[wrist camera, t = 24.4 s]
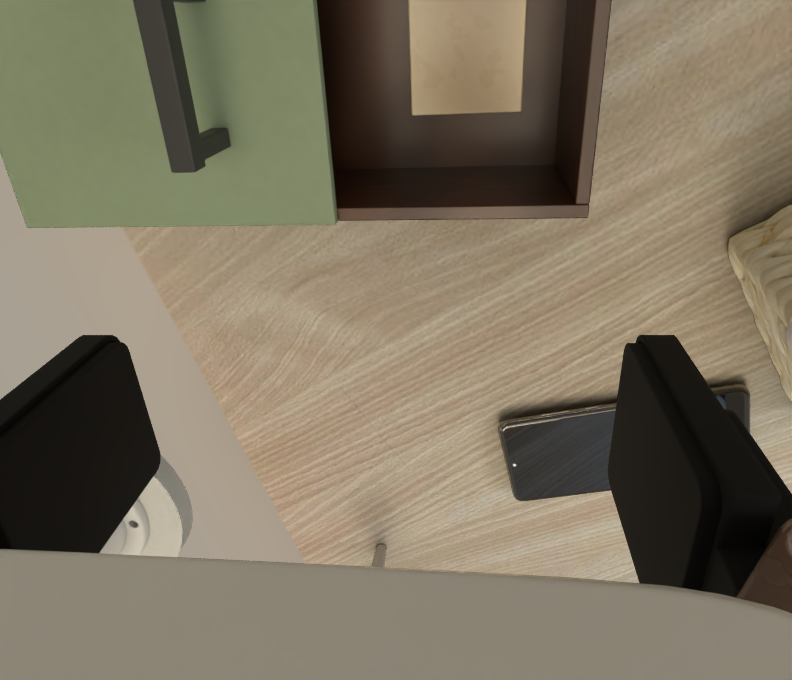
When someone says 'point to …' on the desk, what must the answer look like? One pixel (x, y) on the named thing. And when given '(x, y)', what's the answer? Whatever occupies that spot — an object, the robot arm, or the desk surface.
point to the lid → (165, 113)
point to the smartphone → (576, 447)
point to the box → (462, 120)
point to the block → (466, 56)
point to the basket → (769, 285)
